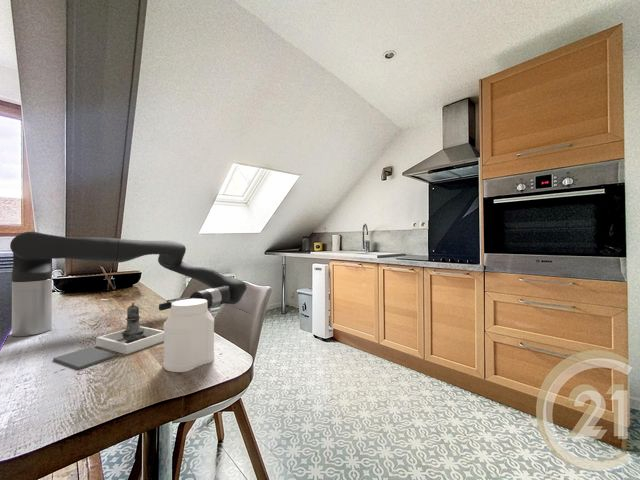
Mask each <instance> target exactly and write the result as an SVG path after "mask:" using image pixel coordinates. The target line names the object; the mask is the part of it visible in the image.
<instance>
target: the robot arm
mask: <svg viewBox="0 0 640 480" xmlns="http://www.w3.org/2000/svg"><path fill="white" fill-rule="evenodd" d="M9 245H10V251H11V252H12V253H13V254H12V261H13V262H12V271H11V336H12V335H14V336H13V337H26V336H27V337H29V336H34V335H38V334H43V333H45V332H48V331H51V330H52V329H53V326H52V325H53V259H54V260H55V259H70V260H72V259H73V260H80V261H89V262H99V263H115V264H116V263H125V262H129V261H132V260H135V259H138V258H140V257H144V256H148V255H158V257H157V262H158V264H159V265H160V266H161V267H163V268H164V269H167V270H169V271H171V272H175V273H177V274H180V275H183V276H185V277H188V278H190V279H194V280H196V281H198V282H200V283H202V284H204V285H205V286H208V287H210V288H207V289H201V290H197V291H194V292H192V293H191V294H190V296H187V297H186V296H185V297H180V296H179V297H178V298H177V297H176V298H173V299H172V298H171V299H167V300H166V302H162V303H159V304H158V310H159V311H161V312H162V311H165V310H168V309H170V310H172V309H171V308H172V307H171V304H172V303H173V302H175V301H179V300H185V299H205V300H207V306H208V307H207V308H208V309H211V308H215V307H217V306H220V305H221V306H222V305H226V304H227V305H236V304H238V303H239V302H240V301H241V299H242V298H243V296H244V294H245V293H246V290H247V285H246V283H245V282H244V281H242V280H241V279H237V278H232V277H229V276H226V275H223V274H222V273H220V272H218V271H217V270H214V269H212V268H209V267H202V266H201V267H200V266H192V265H189V264H187V263H185V262H184V261H183V260H184V257H185V254H186V251H187V250H186V249H187V247H186V245H184V244H183V243H181V242H179V241H174V240H138V239H125V238H118V237H117V238H113V237H97V236H96V237H95V236H94V237H93V236H91V237H90V236H89V237H87V236H85V237H73V236H72V237H71V236H70V237H68V236H62V235H54V234H49V233H42V232H38V231H25V232H22V233H19V234H18V235H16V236H15V237H13V238H12V240H11V241H10V243H9Z"/></svg>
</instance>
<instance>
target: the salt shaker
mask: <svg viewBox="0 0 640 480" xmlns="http://www.w3.org/2000/svg"><path fill="white" fill-rule="evenodd" d="M139 309H140V308H139V306H138V305H136V304H135V302H131V305H130V306H128V307H127V309H126V311H127V312H126V313H127V314H126V318H125V320H126V328H125V329H126V330H125V329H123V330H124V331H122V332H121V334H122V336H123V338H124V339H123V340H125V341H124V342H123V343H127V344H128V343H131V342H134V341H137V340H140V339H141V337H143V336H142V335H143V333H144V330H145V329H144V328H141V327H140V326H141V325H140V319H141V316H140V314H139V313H140V310H139Z"/></svg>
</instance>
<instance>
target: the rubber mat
mask: <svg viewBox="0 0 640 480" xmlns="http://www.w3.org/2000/svg"><path fill="white" fill-rule="evenodd" d="M116 357H117V354H116V353H114V352H113V353H112V352H109V351H105V350H102V349H98V348H95V347H92V346H89V347H85V348H82V349H79V350H76V351H73V352H68V353H65V354H62V355H58V356H56V357H53V361H54V362H57V363H59V364H62V365H66V366H68V367H71V368H74V369H76V370H82V369H84V368H88V367H90V366H94V365H96V364H99V363H102V362H105V361H108V360H111V359H113V358H116Z"/></svg>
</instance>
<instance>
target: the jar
mask: <svg viewBox="0 0 640 480" xmlns="http://www.w3.org/2000/svg"><path fill="white" fill-rule="evenodd" d="M171 307H172V308H171V309H170V310H171V311H170V312H171V313H170V314H169V316H168V317H167V318H166V321H164V323H163V331H164V341H163V365H162V366H163V369H165V370H166V371H168V372H171V373H185V372H190V371H192V370H194V369H196V368H198V367H200V366H203V364H204V365H207V363H208V364H211V363H213V362H214V359H215V318H214V316H213V315H212V314H211V313H210V311H209V310H208V308H207V307H208V306H207V300H205V299H185V300H179V301H175V302H173V303H172V304H171Z"/></svg>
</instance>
